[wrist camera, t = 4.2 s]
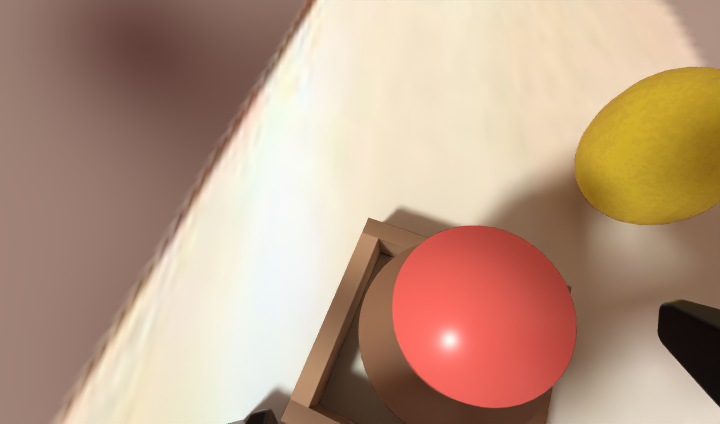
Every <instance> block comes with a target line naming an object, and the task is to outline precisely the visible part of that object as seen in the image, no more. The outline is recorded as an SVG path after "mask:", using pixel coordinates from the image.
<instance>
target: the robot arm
mask: <svg viewBox="0 0 720 424" xmlns="http://www.w3.org/2000/svg"><path fill="white" fill-rule="evenodd" d="M658 336H659V339H660V341H661V342H662V344H663V345H664V346H665V347H666V348H667V349H668V350H669V352H670V353H671V354H672V355H673V356H674V357H675V358H676V359H677V361H678V362H679V363H680V364H681V365H682V366H683V367H684V368H685V369H686V371H687V372H688V373H689V374H690V375H691V376H692V377H693V378H694V380H695V381H696V382H697V383H698V384H699V385H700V386H701V387H702V389H703V390H704V391H705V392H706V393H707V394H708V395H709V396H710V397H711V398H712V400H713V401H714V402H715V403H716V404H717V405H718V406H719V407H720V309H716V308H712V307H708V306H705V305H701V304H697V303H694V302H690V301H686V300H674V301H670V302H667V303H663V304H662V305H661V306H660V308H659V318H658ZM244 424H278V422H277V420H276V418H275V415H274V413H273V411H272V410H271V409H270V408H266V409H263V410H259V411H255V412H253V413H252V414H251V415H250V416H249V417H248V419H247V420H246V422H245V423H244Z"/></svg>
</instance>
